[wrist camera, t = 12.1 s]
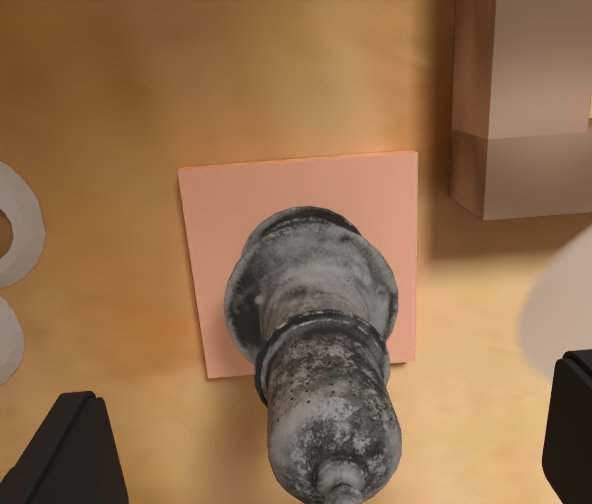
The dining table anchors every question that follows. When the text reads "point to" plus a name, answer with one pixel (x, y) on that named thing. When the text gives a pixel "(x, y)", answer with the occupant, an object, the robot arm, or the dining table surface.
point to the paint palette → (17, 260)
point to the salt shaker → (319, 352)
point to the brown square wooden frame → (522, 108)
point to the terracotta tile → (294, 193)
